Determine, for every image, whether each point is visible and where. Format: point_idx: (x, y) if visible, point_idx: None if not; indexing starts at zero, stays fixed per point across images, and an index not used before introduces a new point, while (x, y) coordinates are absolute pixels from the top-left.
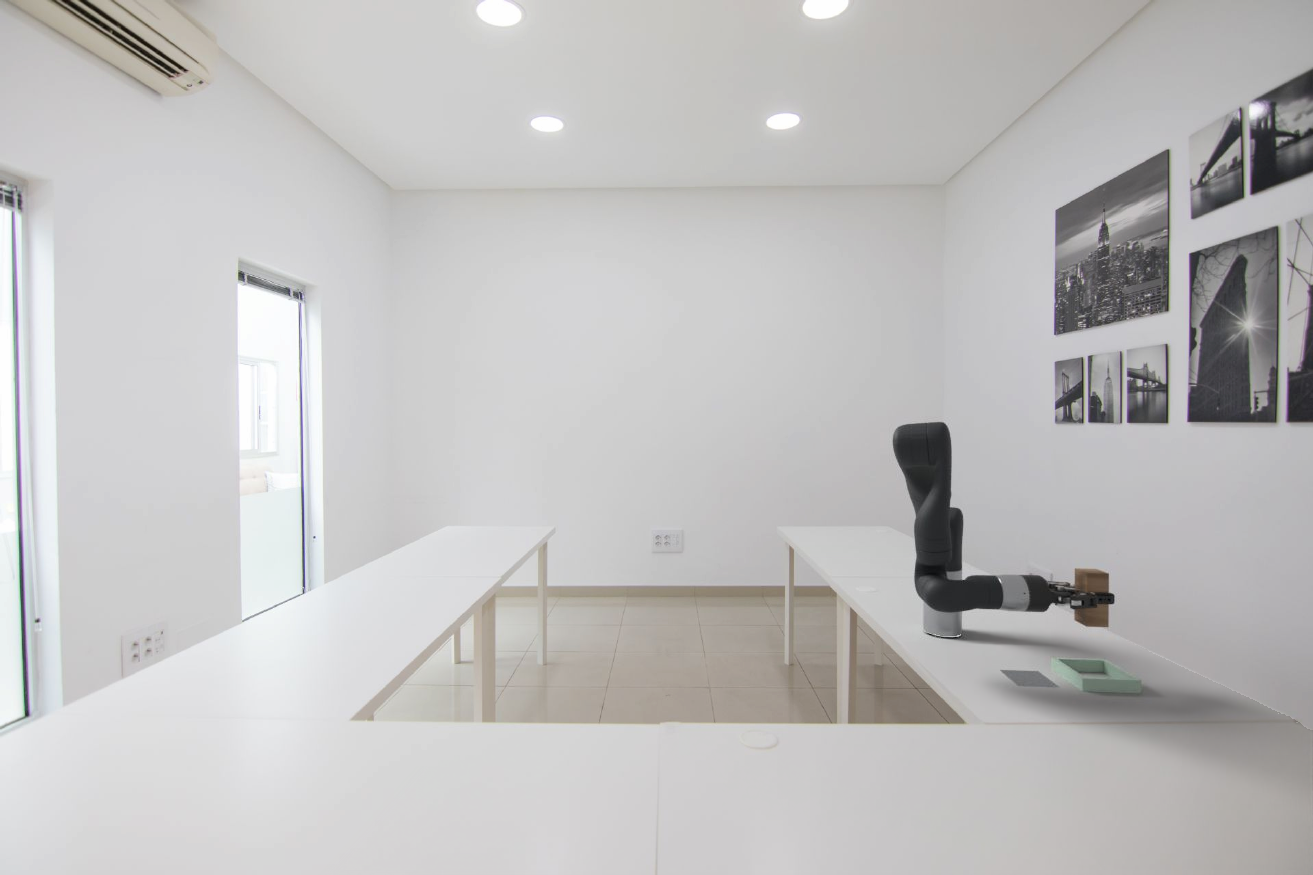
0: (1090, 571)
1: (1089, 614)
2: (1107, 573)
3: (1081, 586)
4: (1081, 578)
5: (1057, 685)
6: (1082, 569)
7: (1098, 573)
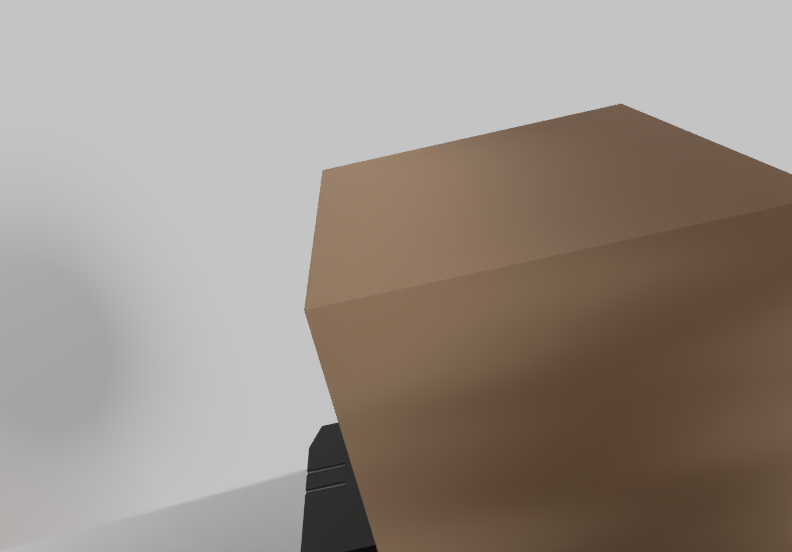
0: (568, 182)
1: None
2: (627, 107)
3: (630, 541)
4: (619, 406)
5: None
6: (402, 240)
7: (689, 138)
